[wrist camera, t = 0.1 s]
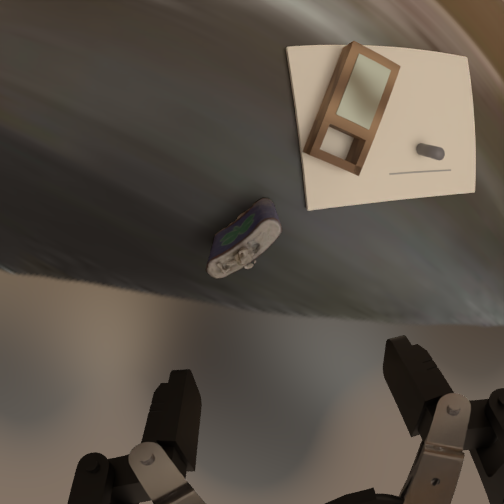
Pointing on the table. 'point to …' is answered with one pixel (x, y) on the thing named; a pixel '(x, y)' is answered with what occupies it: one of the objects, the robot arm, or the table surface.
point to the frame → (353, 104)
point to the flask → (244, 239)
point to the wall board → (391, 129)
